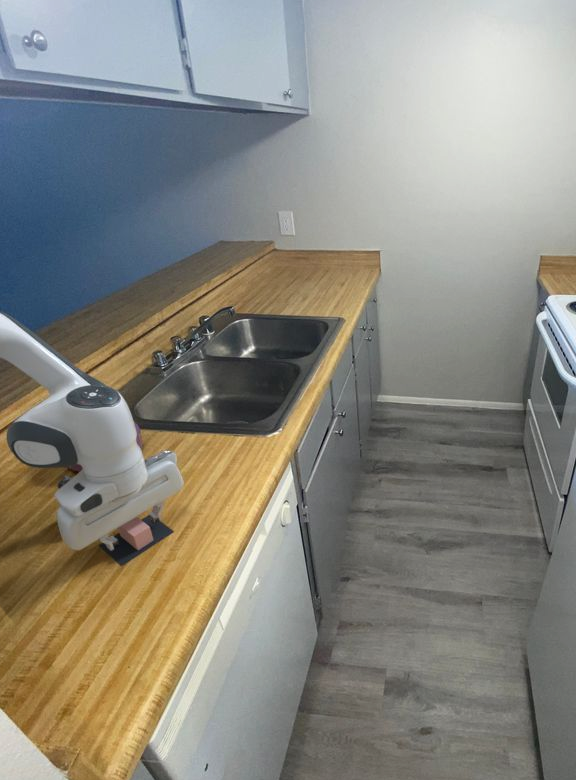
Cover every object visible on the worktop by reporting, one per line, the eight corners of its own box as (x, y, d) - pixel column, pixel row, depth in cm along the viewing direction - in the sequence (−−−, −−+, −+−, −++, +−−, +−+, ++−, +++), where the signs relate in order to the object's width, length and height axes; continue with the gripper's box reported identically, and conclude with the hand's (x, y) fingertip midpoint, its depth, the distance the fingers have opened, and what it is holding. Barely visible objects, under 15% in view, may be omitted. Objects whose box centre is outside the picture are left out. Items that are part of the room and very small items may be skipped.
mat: (122, 568, 82) (121, 566, 82) (98, 547, 86) (98, 545, 86) (175, 533, 90) (174, 531, 90) (151, 515, 94) (150, 513, 93)
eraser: (153, 540, 87) (149, 526, 86) (138, 550, 85) (133, 536, 84) (136, 526, 90) (131, 512, 89) (120, 535, 88) (115, 522, 86)
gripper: (163, 440, 90) (177, 495, 96) (42, 499, 75) (68, 560, 81) (183, 452, 87) (195, 508, 93) (61, 516, 72) (86, 578, 78)
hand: (135, 533), depth 87 cm, fingers open, 7 cm apart
